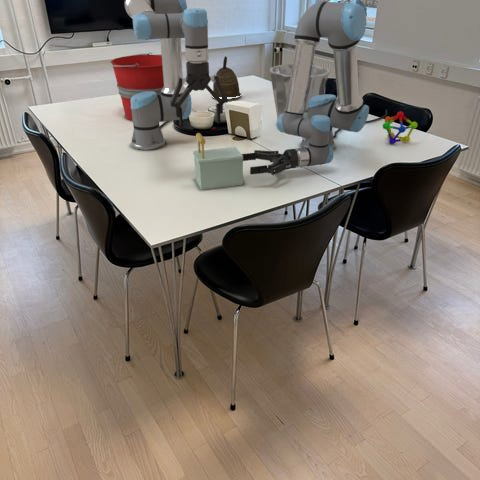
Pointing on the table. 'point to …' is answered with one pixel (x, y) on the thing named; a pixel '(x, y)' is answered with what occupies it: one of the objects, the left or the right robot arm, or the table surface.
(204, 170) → the chest
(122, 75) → the bucket
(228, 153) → the lid
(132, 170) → the table surface
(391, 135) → the educational toy
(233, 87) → the bell
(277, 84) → the bucket
